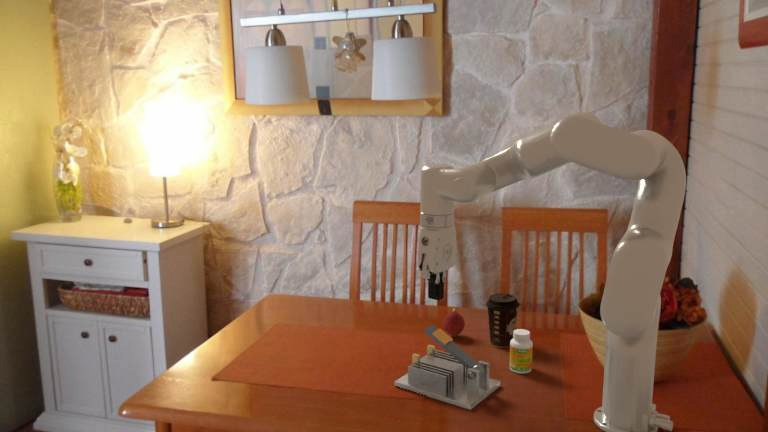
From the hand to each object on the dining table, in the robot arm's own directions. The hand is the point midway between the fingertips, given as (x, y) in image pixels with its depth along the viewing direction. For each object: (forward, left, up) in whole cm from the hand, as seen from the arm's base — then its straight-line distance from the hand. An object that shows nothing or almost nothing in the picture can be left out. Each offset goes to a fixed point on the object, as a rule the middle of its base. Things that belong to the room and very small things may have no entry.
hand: (435, 298), depth 157 cm
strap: (-5, 0, -13) cm, 13 cm away
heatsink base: (-3, 0, -21) cm, 21 cm away
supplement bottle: (-13, -18, -21) cm, 31 cm away
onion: (+11, -27, -21) cm, 36 cm away
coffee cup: (-2, -30, -21) cm, 37 cm away
